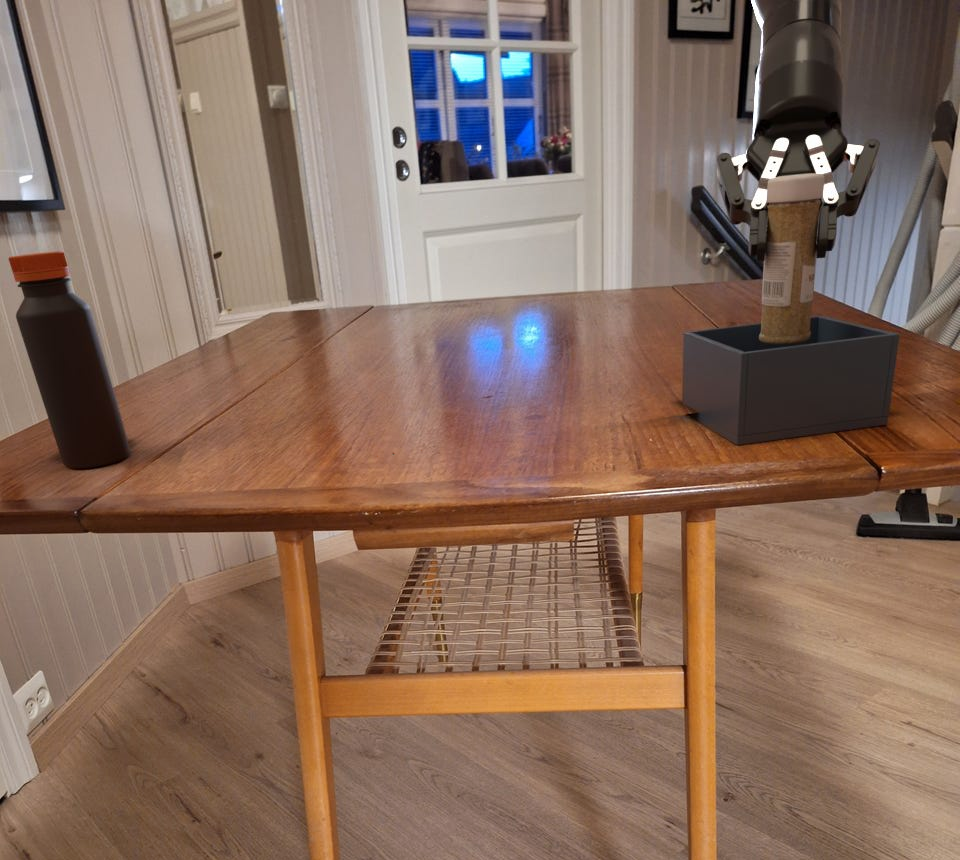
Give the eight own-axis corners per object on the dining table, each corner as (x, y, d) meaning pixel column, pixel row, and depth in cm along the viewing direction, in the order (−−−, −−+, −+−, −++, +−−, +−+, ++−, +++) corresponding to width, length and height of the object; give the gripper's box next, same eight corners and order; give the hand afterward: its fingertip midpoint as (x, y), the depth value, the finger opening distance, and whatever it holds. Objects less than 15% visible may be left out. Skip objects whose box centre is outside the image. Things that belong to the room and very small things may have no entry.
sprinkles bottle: (820, 341, 78) (836, 171, 71) (773, 347, 77) (785, 177, 71) (793, 334, 82) (806, 173, 75) (748, 340, 81) (757, 178, 75)
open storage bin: (813, 395, 89) (821, 315, 85) (887, 425, 77) (900, 333, 74) (681, 412, 88) (683, 331, 84) (736, 445, 76) (741, 353, 72)
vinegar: (75, 455, 94) (12, 255, 85) (138, 448, 94) (83, 248, 85) (54, 473, 88) (-15, 260, 79) (122, 465, 88) (60, 252, 79)
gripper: (716, 67, 77) (705, 228, 73) (891, 46, 73) (890, 214, 69) (716, 137, 84) (705, 287, 80) (875, 121, 80) (874, 278, 76)
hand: (791, 252), depth 74 cm, fingers closed on sprinkles bottle, 4 cm apart
